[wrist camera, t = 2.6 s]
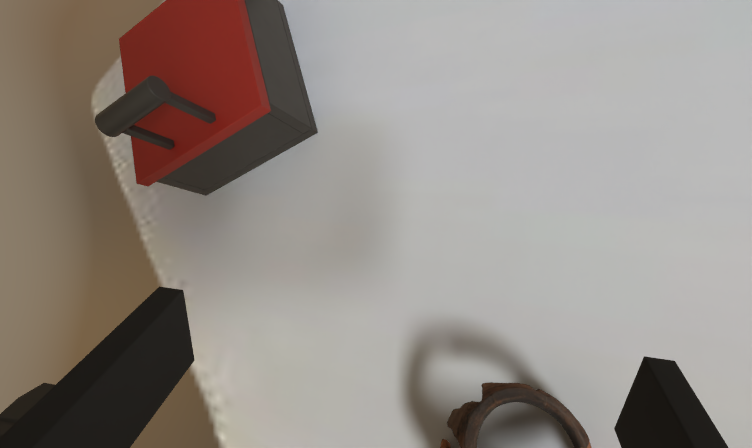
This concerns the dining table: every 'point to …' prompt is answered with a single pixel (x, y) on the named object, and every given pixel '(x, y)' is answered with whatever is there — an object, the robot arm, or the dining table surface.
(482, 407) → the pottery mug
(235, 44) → the lid
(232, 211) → the dining table surface
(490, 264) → the dining table surface
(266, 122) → the dark gray box
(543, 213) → the dining table surface
